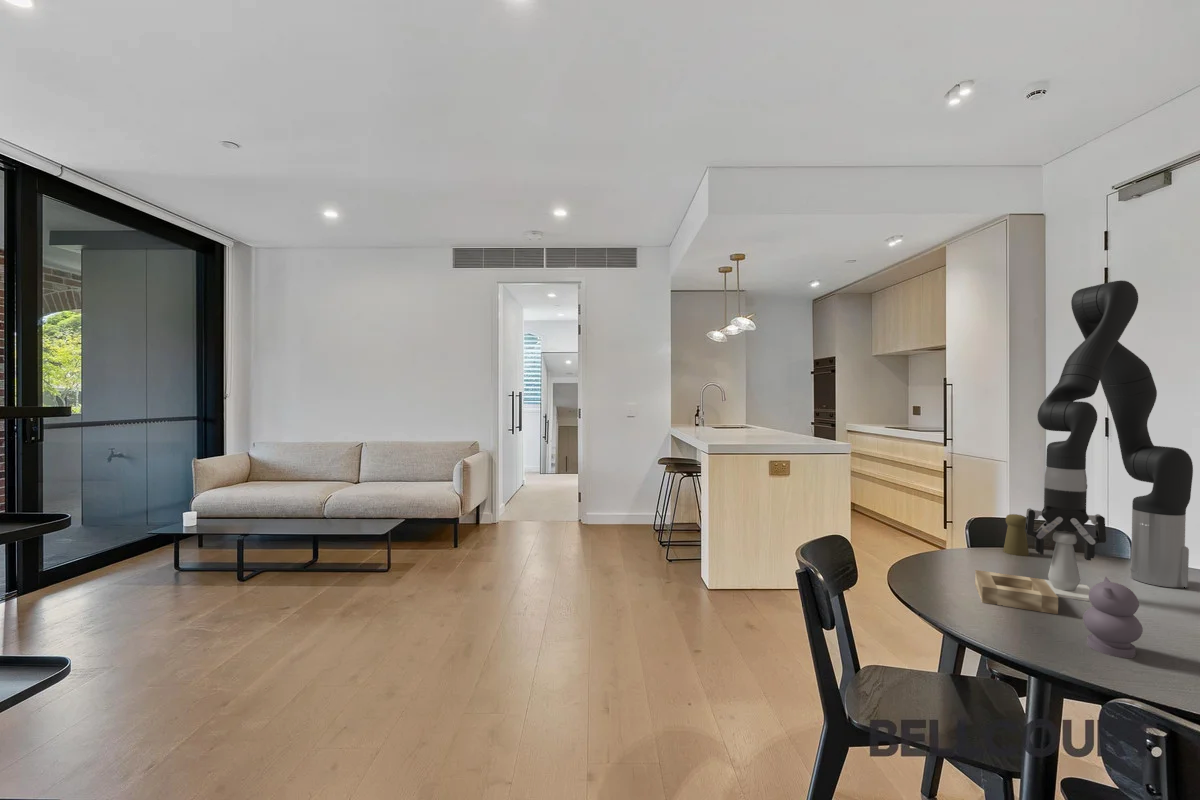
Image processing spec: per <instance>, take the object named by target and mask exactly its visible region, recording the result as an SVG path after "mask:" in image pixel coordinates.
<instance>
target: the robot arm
mask: <svg viewBox="0 0 1200 800" xmlns="http://www.w3.org/2000/svg"><path fill="white" fill-rule="evenodd" d="M1070 303H1071V311H1072V313H1073V317H1074V319H1075V321H1076V324H1077V326H1078V328H1079V330H1080V332H1081V334H1082V336H1083V339H1084V341H1083V342H1081V343H1080V344H1079V345H1078V346H1077V347H1076V348H1074V351H1072V353H1071V354H1070V355H1069V357H1068V358H1067V360H1066V361H1065V363H1064V366H1063V368H1062V372H1061V375H1060V377H1059V380H1058V382H1057V384H1056V385H1055V386H1054V388H1053V389H1052V390H1051V391H1050V392H1049V394H1048V395H1047V396H1046V398H1045V399H1044V400H1043V401H1042V402H1041V405H1040V406H1039V409H1038V411H1037V421H1038V424H1039V426H1040V427H1041V428H1042V429H1044V430H1046V431H1050V432H1051V431H1052V432H1068V433H1069V436H1068V437H1067V439H1066V440H1060V441H1058V440H1057V441H1053V442H1049V443H1048V444H1047V446H1046V456H1045V457H1046V458H1045V459H1046V462H1045V463H1046V464H1045V465H1046V468H1045V473H1044V488H1043V489H1044V492H1043V493H1044V495H1043V509H1042V510H1035V509H1032V508H1030V507H1029V508H1027V510H1026V515H1025V517H1026V525H1025V532H1026V535H1028V536H1031V537H1034V550H1035V552H1037V554H1038V555H1039V556H1044V554H1045V553H1044V551H1045V550H1044V549H1045V547H1044V546H1045V543H1044V542H1045V539H1044V537H1045V536H1047V534H1049V533H1050V532H1052V531H1053V530H1055V532H1058V531H1063V532H1069V533H1075V532H1078V533H1079V534H1080V536H1081V537H1082V538H1083V539H1084V540H1085V541H1084V550H1083V551H1084V555H1083V556H1084V559H1085V560H1086V561H1089V562H1090V561H1091V560H1092V559H1094V558H1095V556H1096V555H1095V554H1096V553H1095V552H1096V551H1095V549H1096V548H1095V547H1096V544H1100V543H1101V544H1102V543H1106V541H1107V534H1106V532H1107V531H1106V518H1105V517H1104V516H1103V515H1101V514H1099V513H1096V514H1094V515H1092V514H1091V515H1090V514H1088V513H1087V494H1088V493H1087V491H1088V483H1087V482H1088V479H1087V478H1088V477H1087V473H1086V469H1087V468H1086V467H1087V450H1088V446H1089V443H1090V440H1091V437H1092V435H1093V433H1094V430H1095V428H1096V425H1097V421H1098V412H1097V410H1096V408H1095V406H1094V405H1093V404H1091V403H1089V402H1088V401H1079V400H1083V399H1087V398H1090V397H1093V396H1094V395H1095V393H1096V392H1097V389H1098V387H1099V383H1100V384H1101V385H1100V386H1101V388H1102V391H1103V394H1104V396H1105V399H1106V401H1107V403H1108V407H1109V410H1110V413H1111V415H1112V416H1111V417H1112V419H1113V423H1114V426H1115V430H1116V434H1117V435H1116V436H1117V438H1118V445H1119V450H1120V454H1121V460H1122V464H1123V467H1124V470H1125V471H1126V472H1127V474H1128V475H1129V476H1130V477H1131V478H1132V479H1134V480H1137V481H1139V482H1145V483H1150V484H1152V490H1151V492H1150V493H1148V494H1145V495H1140V496H1136V497H1133V499H1132V506H1131V507H1132V509H1131V510H1132V511H1131V548H1130V549H1131V551H1130V552H1131V553H1130V555H1131V556H1130V577H1131V579H1133V580H1135V581H1138V582H1141V583H1145V584H1148V585H1153V586H1159V587H1167V588H1184V587H1185V589H1188V588H1189V562H1190V561H1189V558H1190V557H1189V556H1190V549H1189V547H1188V546H1186V520H1187V519H1186V516H1187V515H1186V513H1187V512H1186V511H1187V508H1188V505H1189V503H1190V501H1191V496H1192V495H1191V494H1192V485H1193V476H1194V469H1193V468H1194V465H1193V460H1192V458H1191V456H1190V454H1189V453H1188V452H1187V451H1186V450H1184V449H1183V448H1178V447H1172V446H1171V447H1170V446H1162V445H1161V446H1160V445H1154V443H1153V441H1152V439H1151V436H1150V433H1149V429H1148V421H1149V418H1150V415H1151V413H1152V412H1153V411H1152V410H1153V408H1154V407H1155V403H1156V400H1157V395H1158V391H1157V387H1156V384H1155V381H1154V378H1153V374H1152V372H1151V369H1150V367H1149V366H1148V364H1147V363H1146V362H1145V361H1144V360H1142V359H1141V358H1140V357H1139V356H1137V355H1136V354H1135V353H1134V352H1132V351H1131V350H1129V349H1128V348H1127V347H1125V345H1123V344H1122V343H1121V342H1120V339H1121V336H1122V335H1123V334H1124V331H1125V330H1126V328H1127V326H1128V325H1129V323H1130V321H1131V320H1132V318H1133V316H1134V314H1135V312H1136V311H1137V308H1138V305H1139V293H1138V291H1137V288H1136V286H1134V285H1133V284H1132V283H1131V282H1129V281H1128V280H1123V279H1122V280H1114V281H1109V282H1105V283H1104V282H1103V283H1100V284H1096V285H1093V286H1088V287H1084V288H1080V289H1077V290H1076V291H1075V292H1074V293H1073V295H1072V296H1071V301H1070ZM1040 516H1041V517H1042V518H1043V519H1044V521H1045V522H1043V523H1042V524H1041V525H1040V526H1039V528H1038V529H1037V530H1035V520H1038V519H1039V517H1040ZM1088 521H1090V522H1091V524H1093V525H1094V528H1095V531H1094V532H1095V535H1094V536H1092V535H1091V534H1090V533H1089V531H1087V530H1086V528H1085V527H1084V525H1085V524H1086V523H1088ZM1186 587H1187V588H1186Z"/></svg>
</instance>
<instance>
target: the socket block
mask: <svg viewBox="0 0 1200 800" xmlns="http://www.w3.org/2000/svg"><path fill="white" fill-rule="evenodd" d="M974 574H975V575H974V577H975V579H974V580H975V581H974V583H975V588H976V590H977V593H978V596H979V597H980V601H981V603H983V604H989V605H995V604H997V605H996V606H1001V605H1003V606H1002V607H1008V608H1016V609H1022V610H1027V611H1028V610H1029V611H1034V612H1041V613H1046V614H1052V615H1053V614H1054V615H1058V614H1059V597H1057V595H1056V594H1055V593H1054V591H1053V590H1052V589H1051V588H1050V586H1049V585H1048V584H1047V582H1046V581H1045V580H1046V579H1044V578H1037V577H1029V576H1024V575H1023V576H1022V575H1014V574H1009V573H1008V574H1007V573H998V572H995V571H994V572H993V571H987V570H976V569H975V573H974Z"/></svg>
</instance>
